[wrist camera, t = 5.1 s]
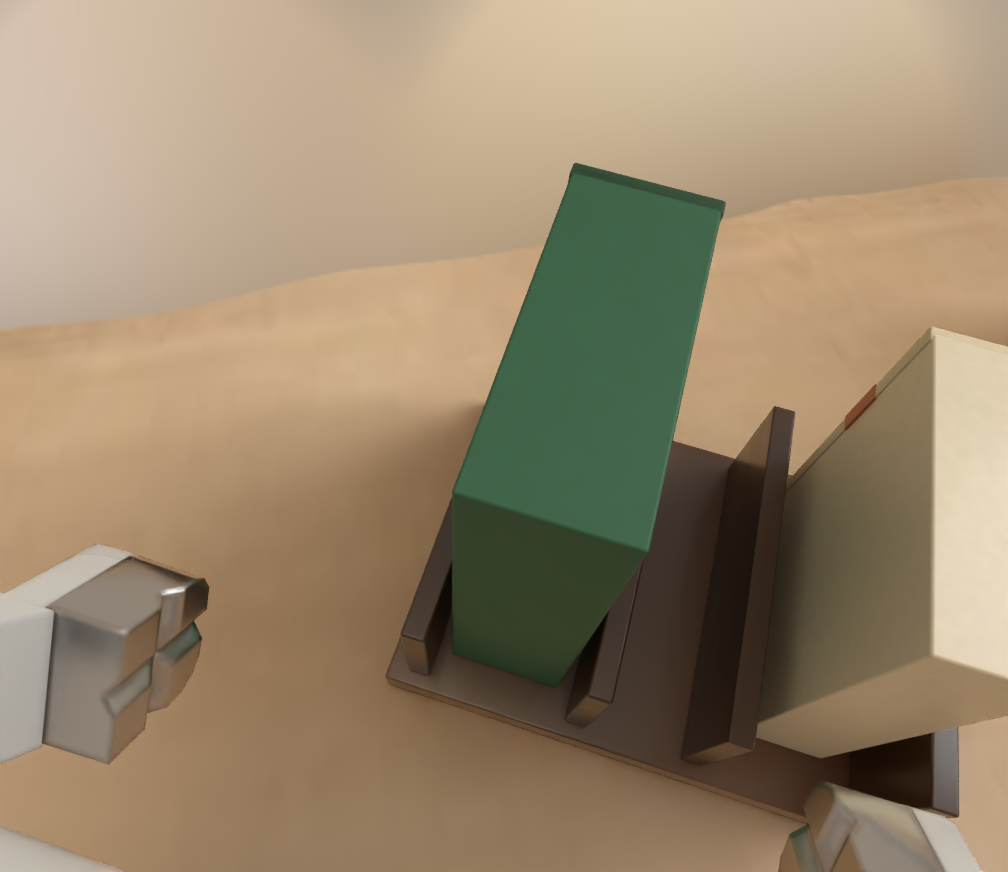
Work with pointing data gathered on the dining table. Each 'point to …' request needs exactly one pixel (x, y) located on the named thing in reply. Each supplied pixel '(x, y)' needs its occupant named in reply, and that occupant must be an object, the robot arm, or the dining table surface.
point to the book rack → (680, 652)
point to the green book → (579, 423)
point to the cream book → (896, 561)
